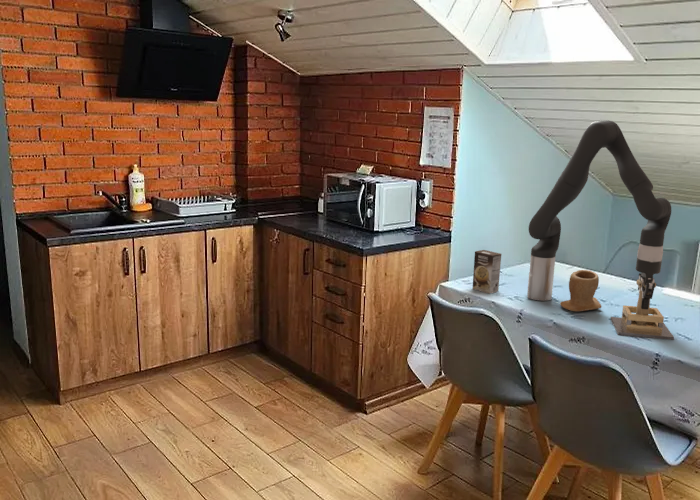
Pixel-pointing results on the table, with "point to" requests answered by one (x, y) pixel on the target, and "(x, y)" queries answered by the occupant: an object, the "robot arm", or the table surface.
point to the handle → (639, 309)
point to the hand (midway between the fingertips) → (643, 306)
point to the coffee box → (486, 271)
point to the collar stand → (650, 330)
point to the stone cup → (582, 291)
